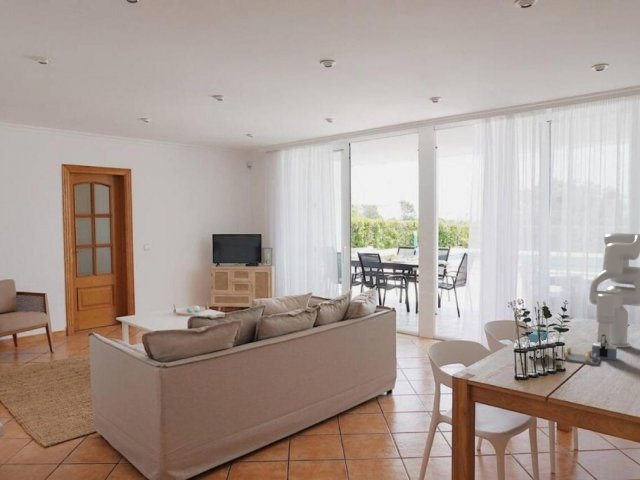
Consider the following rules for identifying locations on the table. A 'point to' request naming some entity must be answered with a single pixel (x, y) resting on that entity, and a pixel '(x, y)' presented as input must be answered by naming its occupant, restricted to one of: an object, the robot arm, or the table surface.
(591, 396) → the table surface
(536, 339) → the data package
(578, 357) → the tray
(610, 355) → the block
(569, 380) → the table surface
